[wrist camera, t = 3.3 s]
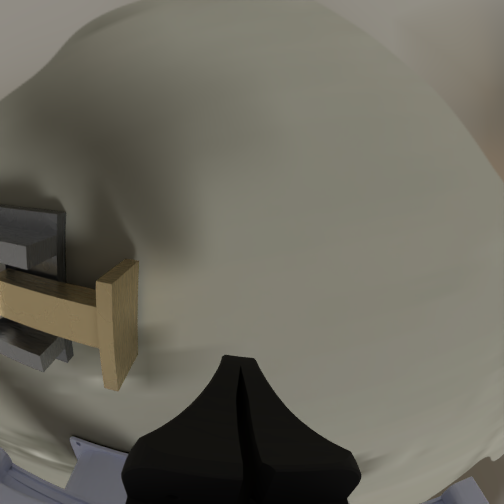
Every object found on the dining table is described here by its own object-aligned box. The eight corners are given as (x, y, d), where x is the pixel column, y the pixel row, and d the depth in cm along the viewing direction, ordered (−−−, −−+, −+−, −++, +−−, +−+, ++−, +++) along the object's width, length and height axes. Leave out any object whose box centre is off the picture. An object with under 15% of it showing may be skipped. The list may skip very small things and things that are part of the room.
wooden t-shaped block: (139, 260, 15) (111, 284, 11) (137, 354, 17) (118, 391, 13) (13, 238, 14) (-24, 252, 11) (21, 320, 16) (-9, 344, 12)
